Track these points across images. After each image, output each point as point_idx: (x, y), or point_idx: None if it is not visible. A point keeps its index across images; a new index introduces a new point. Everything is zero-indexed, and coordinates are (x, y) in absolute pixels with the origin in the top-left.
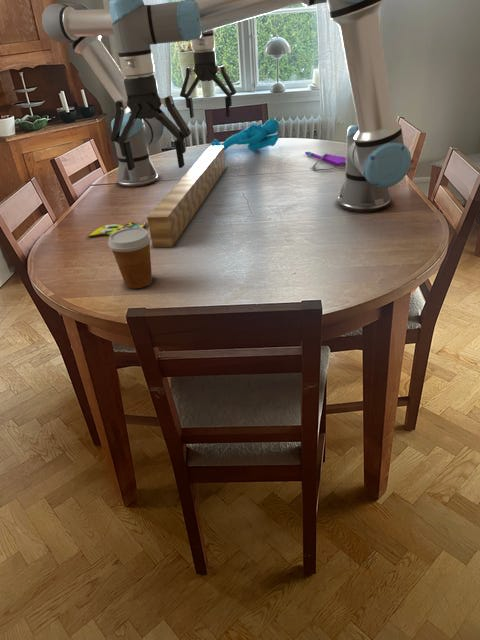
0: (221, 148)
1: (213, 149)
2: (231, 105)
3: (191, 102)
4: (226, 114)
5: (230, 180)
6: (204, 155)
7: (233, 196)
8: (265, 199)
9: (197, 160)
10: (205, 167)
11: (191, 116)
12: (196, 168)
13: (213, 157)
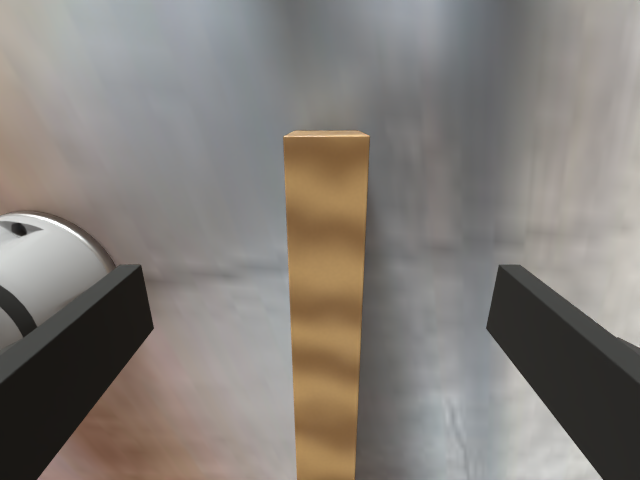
0: (365, 200)
1: (323, 214)
2: (622, 340)
3: (45, 415)
4: (499, 340)
5: (400, 297)
6: (303, 319)
7: (425, 425)
8: (512, 447)
9: (293, 385)
10: (351, 464)
11: (140, 336)
12: (320, 470)
13: (355, 353)
